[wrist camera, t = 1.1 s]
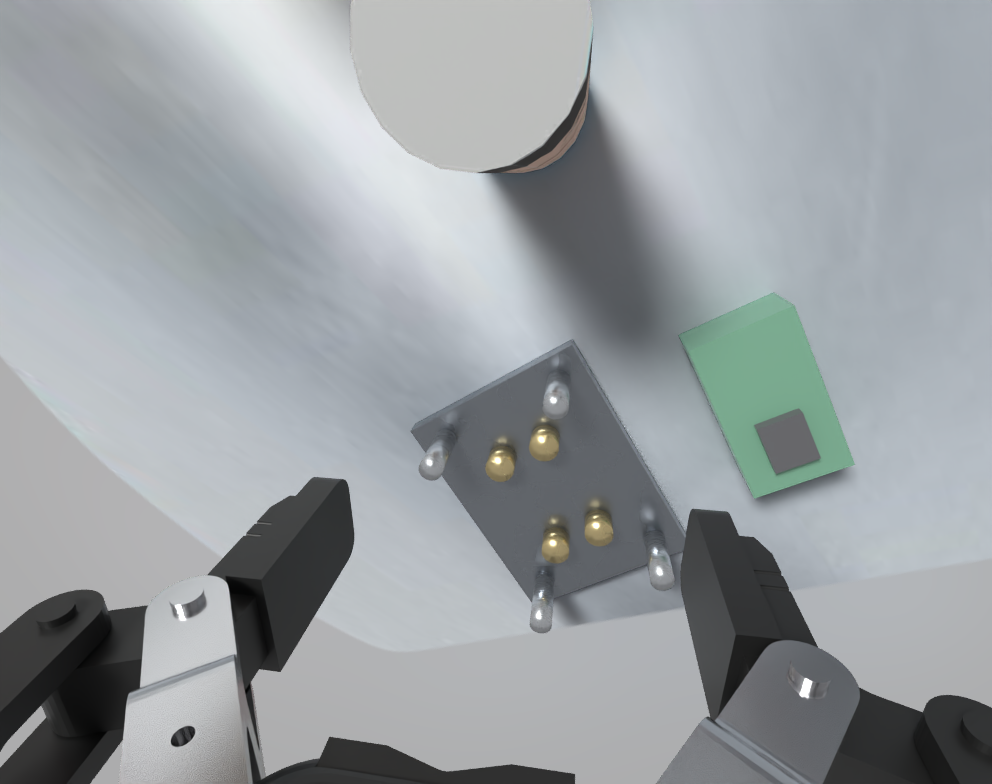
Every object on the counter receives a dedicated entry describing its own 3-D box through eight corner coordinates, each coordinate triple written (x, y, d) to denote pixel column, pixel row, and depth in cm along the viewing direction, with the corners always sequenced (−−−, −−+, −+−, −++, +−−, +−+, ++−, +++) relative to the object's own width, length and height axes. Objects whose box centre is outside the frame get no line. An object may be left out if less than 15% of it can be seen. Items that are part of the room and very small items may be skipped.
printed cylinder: (464, 175, 30) (366, 178, 16) (455, 34, 28) (330, -101, 14) (587, 169, 29) (591, 166, 15) (588, 21, 27) (595, -139, 13)
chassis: (415, 423, 37) (390, 461, 32) (572, 339, 33) (570, 367, 28) (535, 594, 40) (529, 650, 36) (687, 536, 37) (703, 590, 32)
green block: (677, 333, 32) (690, 354, 28) (771, 291, 30) (798, 308, 27) (738, 468, 35) (757, 504, 31) (828, 436, 33) (860, 470, 29)
